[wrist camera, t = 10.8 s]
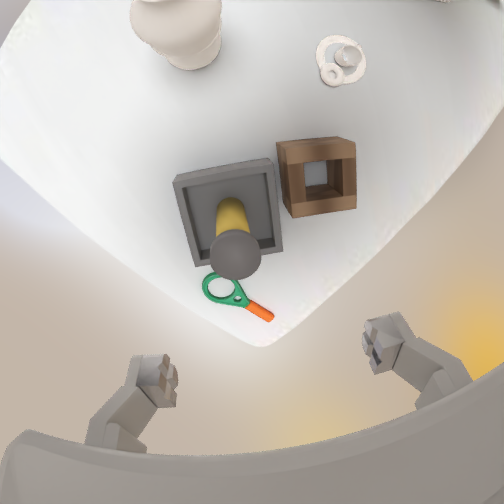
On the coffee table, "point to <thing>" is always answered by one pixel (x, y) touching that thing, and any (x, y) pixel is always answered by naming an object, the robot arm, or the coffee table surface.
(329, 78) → the teacup and saucer
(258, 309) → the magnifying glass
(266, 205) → the tray
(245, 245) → the peg
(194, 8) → the water bottle
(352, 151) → the holder
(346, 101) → the coffee table surface
